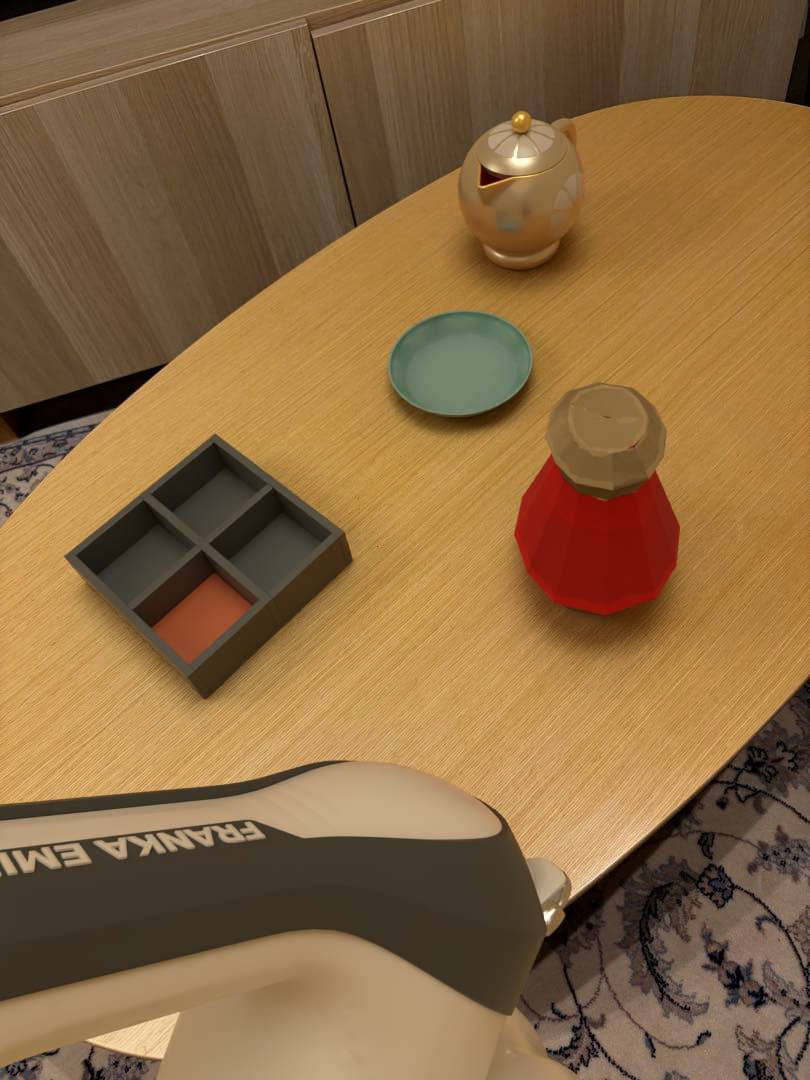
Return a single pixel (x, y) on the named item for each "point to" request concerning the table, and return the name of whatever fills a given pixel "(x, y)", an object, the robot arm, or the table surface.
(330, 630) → the table surface
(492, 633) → the table surface
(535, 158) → the teapot
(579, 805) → the table surface
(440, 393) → the saucer
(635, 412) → the bottle
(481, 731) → the table surface
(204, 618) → the tray
